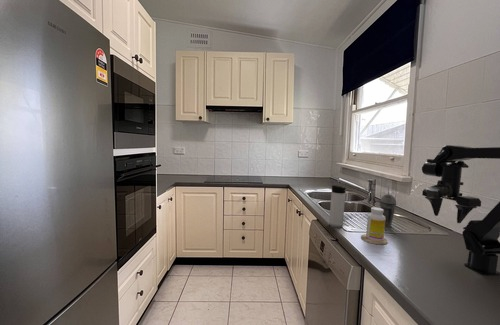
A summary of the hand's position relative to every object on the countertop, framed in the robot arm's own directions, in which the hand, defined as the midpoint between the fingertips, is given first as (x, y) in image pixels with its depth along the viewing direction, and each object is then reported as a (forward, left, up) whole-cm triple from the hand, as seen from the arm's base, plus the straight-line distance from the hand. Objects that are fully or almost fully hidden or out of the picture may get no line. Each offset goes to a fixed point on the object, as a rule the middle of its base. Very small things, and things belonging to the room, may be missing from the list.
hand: (446, 219), depth 94 cm
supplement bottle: (+11, +21, -12) cm, 27 cm away
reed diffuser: (+30, +3, -13) cm, 32 cm away
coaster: (+12, +21, -13) cm, 27 cm away
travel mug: (+29, +30, -13) cm, 43 cm away
